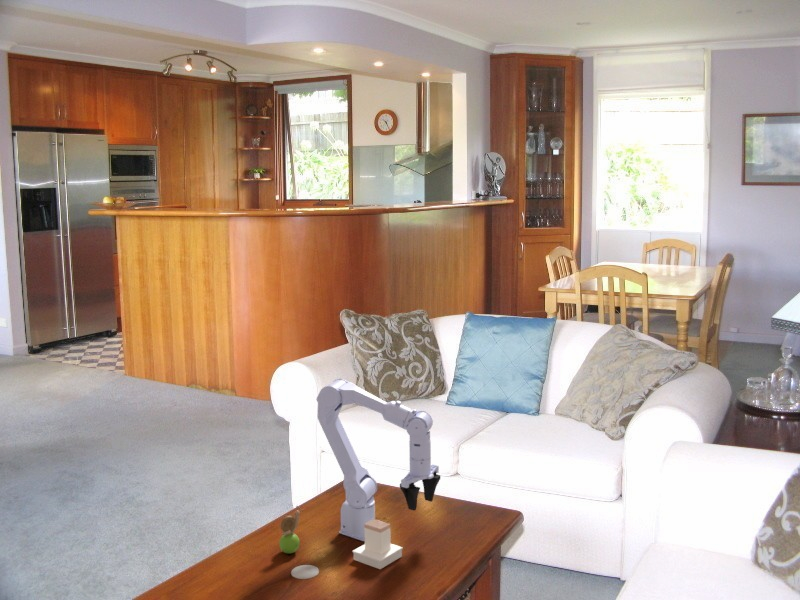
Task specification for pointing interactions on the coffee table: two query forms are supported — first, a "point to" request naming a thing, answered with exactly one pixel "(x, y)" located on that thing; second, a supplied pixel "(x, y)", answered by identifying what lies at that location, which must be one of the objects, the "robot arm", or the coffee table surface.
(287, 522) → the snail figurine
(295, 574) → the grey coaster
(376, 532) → the carton
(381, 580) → the coffee table surface
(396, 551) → the podium
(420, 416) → the robot arm
